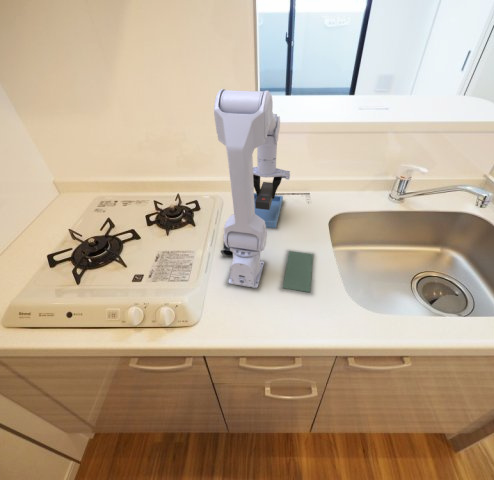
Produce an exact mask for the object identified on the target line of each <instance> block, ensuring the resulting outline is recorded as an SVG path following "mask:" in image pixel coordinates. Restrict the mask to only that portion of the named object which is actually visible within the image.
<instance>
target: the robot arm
mask: <svg viewBox="0 0 494 480" xmlns="http://www.w3.org/2000/svg"><path fill="white" fill-rule="evenodd" d="M273 104H274V103H273V96H272V94H271V92H270V91H269V90H264V91H263V90H262V91H260V90H257V91H256V90H233V89H232V90H231V89H225V88H221V89H219V90H218V92H217V93H216V96H215V99H214V107H213V115H214V122H215V129H216V130H215V131H216V135H217V140H218V141H219V142H220V143H221V144H222V145H223V146H224V147H225V150H226V158H227V164H228V172H229V173H228V174H229V183H230V191H231V199H232V208H233V214H231V215H230V216H229V217H227V219H226V221H225V222H224V227H223V244H224V243H225V245H226V247H230V251H232V252H233V256H232V262H231V264H230V267H229V271H230V276H229V277H228V278H229V279H228V284H230V285H236V286H242V287H247V288H253V289H254V288H255V289H257V288H258V287H259V283H260V280H261V277H262V272H263V268H264V265H265V262H264V261H263V260H261V253H262V252H263V251H264V250H265V248H266V244H267V236H268V230H267V227H266V224H265V221H264V220H263V219H261V218H260V217H259V216H257V215H256V214H255V206H254V193H256V194H257V196H258V194H259V191H260V189H261V178H273V179H272V181H271V183H273V193H272V199H274V198H275V195H276V193H277V190H278V188H279V186H280V185H281V182H282V179H285V180H290V178H291V170H285V169H282V168H281V169H280V168H277V155H278V153H277V152H278V151H277V150H278V141H279V133H280V128H281V117H280V115H279V116H278V114H277V113H274V112H273V106H274V105H273ZM255 149H256V156H257V157H256V159H257V160H256V161H257V163H256V164H257V166H254V158H253V157H254V156H253V154H254V151H255Z"/></svg>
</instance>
